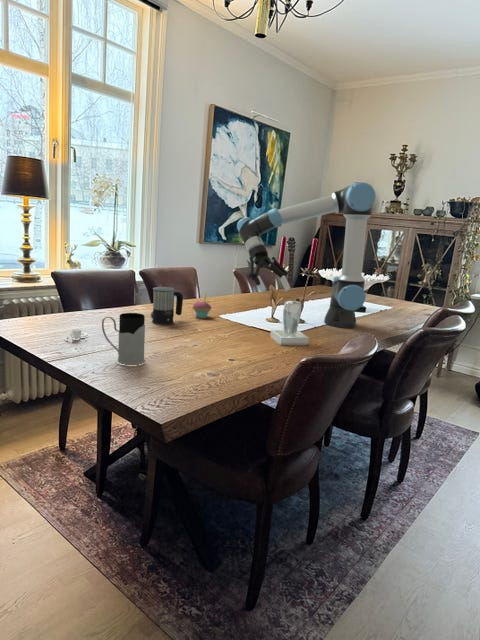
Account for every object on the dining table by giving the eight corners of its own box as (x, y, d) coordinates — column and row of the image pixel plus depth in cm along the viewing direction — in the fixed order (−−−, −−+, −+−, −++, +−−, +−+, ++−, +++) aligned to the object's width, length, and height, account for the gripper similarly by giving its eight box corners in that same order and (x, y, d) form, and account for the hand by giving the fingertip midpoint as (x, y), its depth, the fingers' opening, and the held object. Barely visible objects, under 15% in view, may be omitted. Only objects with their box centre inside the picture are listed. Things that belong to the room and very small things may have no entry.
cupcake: (214, 317, 204) (215, 292, 201) (203, 320, 196) (204, 294, 194) (199, 313, 208) (201, 289, 205) (188, 316, 201) (189, 291, 198)
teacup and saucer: (84, 336, 160) (84, 325, 159) (94, 341, 154) (94, 330, 153) (60, 339, 154) (60, 328, 153) (70, 345, 148) (70, 334, 147)
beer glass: (297, 342, 170) (301, 304, 167) (279, 339, 171) (283, 302, 168) (298, 337, 177) (302, 301, 173) (281, 335, 178) (285, 299, 174)
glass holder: (138, 368, 131) (140, 320, 128) (95, 362, 134) (95, 314, 130) (149, 359, 140) (151, 314, 136) (108, 353, 142) (108, 309, 138)
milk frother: (163, 326, 181) (164, 291, 177) (136, 319, 189) (136, 285, 185) (185, 320, 193) (186, 287, 189) (158, 314, 200) (159, 282, 197)
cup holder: (296, 336, 181) (297, 329, 180) (308, 345, 170) (309, 337, 170) (270, 336, 178) (271, 329, 177) (280, 345, 167) (281, 337, 166)
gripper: (273, 255, 196) (293, 294, 188) (228, 254, 181) (247, 296, 173) (282, 244, 191) (303, 284, 183) (237, 243, 176) (257, 286, 168)
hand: (276, 290), depth 178 cm, fingers open, 13 cm apart
